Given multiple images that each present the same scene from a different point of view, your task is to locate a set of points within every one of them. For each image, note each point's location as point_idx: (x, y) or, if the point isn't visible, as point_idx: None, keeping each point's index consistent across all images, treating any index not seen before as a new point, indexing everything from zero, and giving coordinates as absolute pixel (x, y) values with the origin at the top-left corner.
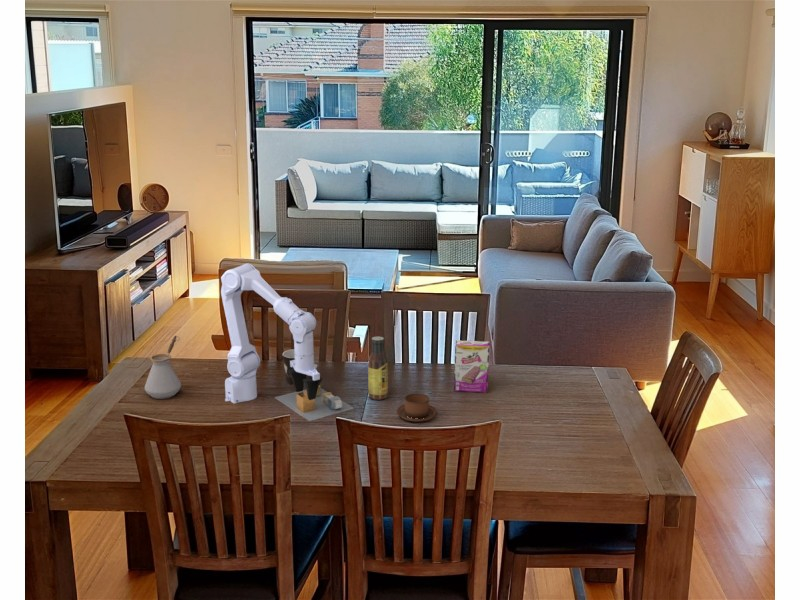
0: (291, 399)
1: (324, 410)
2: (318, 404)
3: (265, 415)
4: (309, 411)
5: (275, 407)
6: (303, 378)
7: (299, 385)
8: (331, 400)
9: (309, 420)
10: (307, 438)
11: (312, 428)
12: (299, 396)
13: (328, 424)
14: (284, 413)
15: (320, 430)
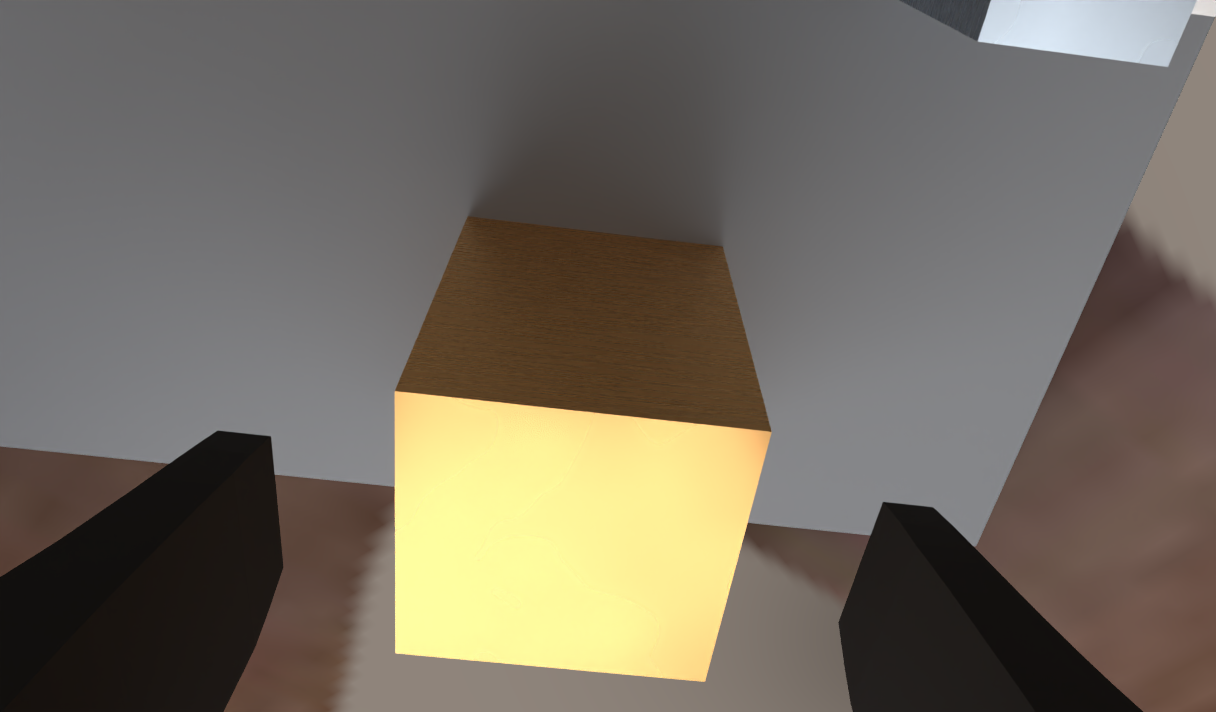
0: (10, 271)
1: (892, 126)
2: (552, 17)
3: (277, 662)
4: None
5: (85, 472)
6: (43, 703)
7: (200, 641)
8: (1165, 65)
9: (964, 531)
10: (1173, 677)
11: (1045, 509)
12: (545, 652)
13: (1176, 285)
14: (359, 497)
15: (1188, 476)
